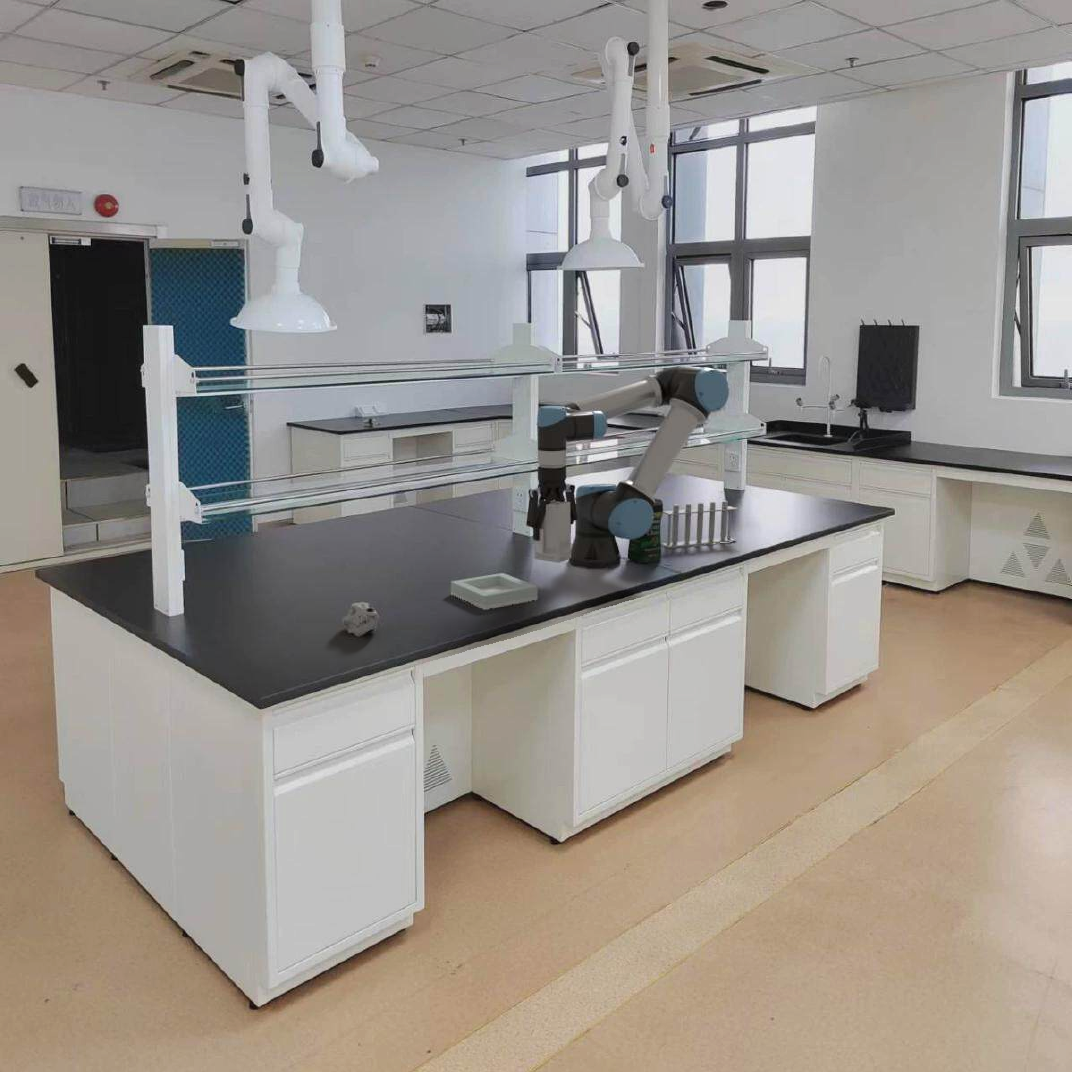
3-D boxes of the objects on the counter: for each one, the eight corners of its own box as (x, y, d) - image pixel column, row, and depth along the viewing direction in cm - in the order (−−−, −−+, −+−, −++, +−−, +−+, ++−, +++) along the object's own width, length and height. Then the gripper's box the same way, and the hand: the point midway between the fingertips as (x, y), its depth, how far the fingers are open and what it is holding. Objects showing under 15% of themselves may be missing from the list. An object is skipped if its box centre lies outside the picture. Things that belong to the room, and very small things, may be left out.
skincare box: (571, 558, 277) (572, 501, 273) (557, 563, 271) (558, 505, 268) (546, 554, 281) (546, 498, 278) (531, 559, 276) (532, 501, 273)
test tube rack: (728, 539, 332) (730, 499, 329) (736, 542, 328) (738, 501, 325) (660, 545, 322) (662, 504, 319) (667, 549, 318) (669, 507, 315)
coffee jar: (639, 565, 297) (642, 502, 293) (623, 559, 304) (625, 497, 300) (666, 561, 302) (668, 499, 298) (649, 555, 309) (651, 494, 305)
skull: (366, 611, 242) (382, 586, 233) (375, 645, 238) (391, 621, 229) (334, 614, 238) (349, 589, 229) (342, 648, 234) (358, 624, 225)
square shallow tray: (502, 585, 275) (502, 572, 274) (537, 599, 262) (537, 586, 261) (450, 594, 266) (450, 581, 265) (484, 609, 253) (484, 596, 252)
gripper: (574, 459, 279) (574, 541, 285) (511, 467, 268) (512, 552, 273) (591, 463, 273) (591, 546, 279) (527, 471, 262) (528, 558, 267)
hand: (552, 549), depth 276 cm, fingers closed on skincare box, 8 cm apart
